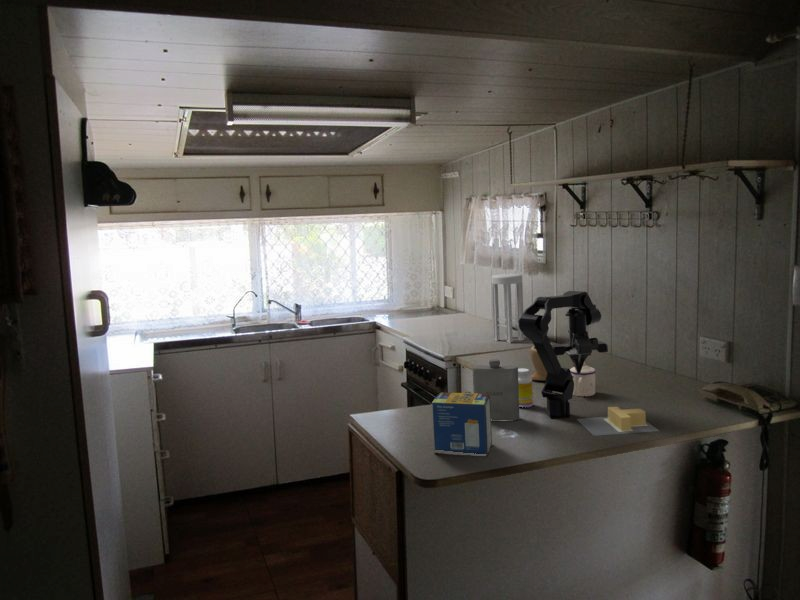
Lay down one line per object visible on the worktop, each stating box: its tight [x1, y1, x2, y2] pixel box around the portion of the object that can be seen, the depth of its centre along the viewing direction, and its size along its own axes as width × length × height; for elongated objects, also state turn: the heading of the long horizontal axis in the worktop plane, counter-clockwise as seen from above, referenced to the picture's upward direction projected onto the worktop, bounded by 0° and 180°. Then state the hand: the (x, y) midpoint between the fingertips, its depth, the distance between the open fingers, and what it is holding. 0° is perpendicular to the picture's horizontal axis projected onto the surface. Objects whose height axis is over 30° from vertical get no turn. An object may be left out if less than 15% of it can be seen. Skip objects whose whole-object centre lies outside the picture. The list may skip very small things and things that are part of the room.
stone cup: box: [529, 342, 558, 382], centre depth 252 cm, size 15×12×15 cm
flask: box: [472, 358, 520, 421], centre depth 209 cm, size 15×6×20 cm, turn 74°
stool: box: [490, 273, 525, 344], centre depth 334 cm, size 16×16×35 cm
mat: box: [576, 416, 660, 437], centre depth 197 cm, size 20×16×1 cm
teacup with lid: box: [569, 361, 596, 397], centre depth 231 cm, size 12×9×12 cm
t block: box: [607, 406, 647, 431], centre depth 197 cm, size 9×11×4 cm
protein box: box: [431, 392, 493, 454], centre depth 183 cm, size 10×15×16 cm
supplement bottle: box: [518, 367, 534, 409], centre depth 221 cm, size 7×7×13 cm
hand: (578, 372), depth 216 cm, fingers closed
